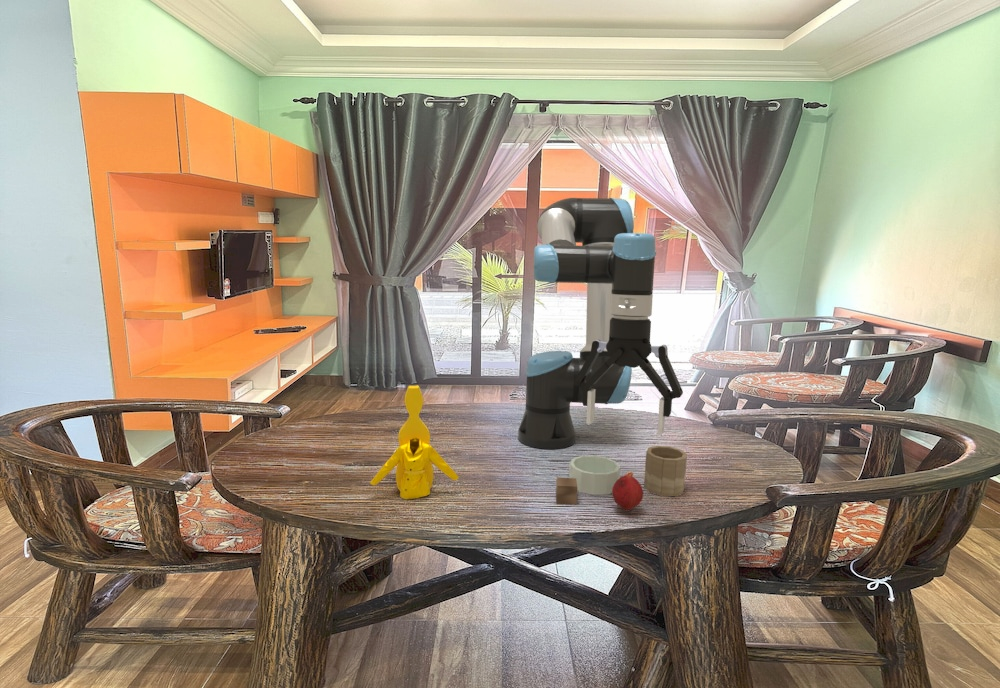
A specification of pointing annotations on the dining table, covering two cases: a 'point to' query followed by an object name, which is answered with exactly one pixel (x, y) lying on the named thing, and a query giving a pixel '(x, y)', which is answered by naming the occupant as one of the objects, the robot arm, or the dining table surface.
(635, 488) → the onion
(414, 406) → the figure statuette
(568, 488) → the walnut block
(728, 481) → the dining table surface
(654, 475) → the canister
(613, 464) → the bowl
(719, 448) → the dining table surface
